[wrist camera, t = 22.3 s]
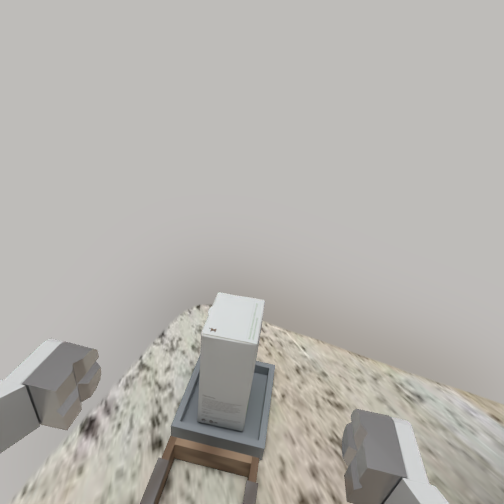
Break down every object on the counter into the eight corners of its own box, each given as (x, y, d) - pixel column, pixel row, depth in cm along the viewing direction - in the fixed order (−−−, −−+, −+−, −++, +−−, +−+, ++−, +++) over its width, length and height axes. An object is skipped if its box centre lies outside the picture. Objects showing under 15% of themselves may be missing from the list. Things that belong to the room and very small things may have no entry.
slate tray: (272, 375, 49) (275, 365, 48) (261, 459, 38) (264, 448, 37) (201, 359, 50) (202, 348, 49) (171, 437, 39) (171, 425, 38)
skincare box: (242, 434, 40) (259, 348, 32) (192, 422, 40) (197, 335, 32) (252, 379, 47) (267, 298, 39) (210, 370, 47) (217, 289, 40)
